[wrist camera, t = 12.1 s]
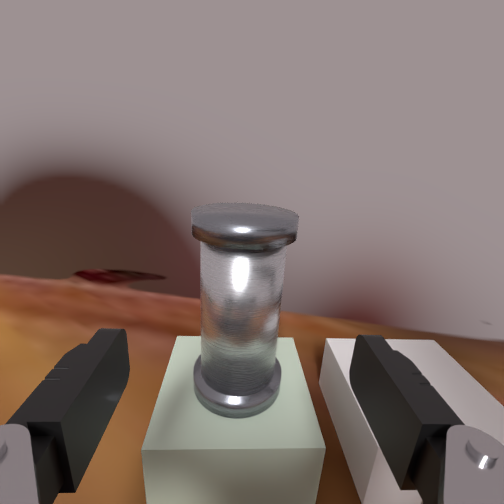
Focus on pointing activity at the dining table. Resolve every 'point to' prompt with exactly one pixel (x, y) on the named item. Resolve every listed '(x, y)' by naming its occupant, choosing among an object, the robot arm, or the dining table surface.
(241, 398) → the cylinder
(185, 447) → the stand
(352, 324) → the dining table surface
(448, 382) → the stand
